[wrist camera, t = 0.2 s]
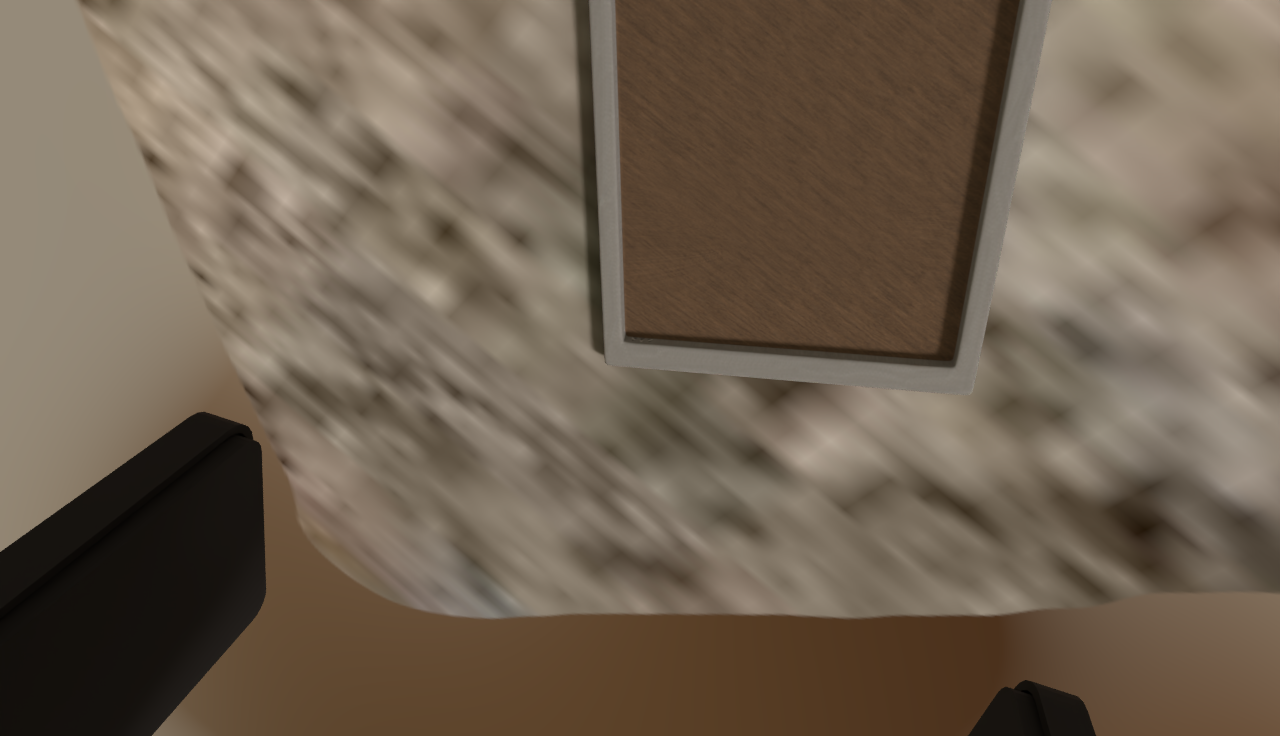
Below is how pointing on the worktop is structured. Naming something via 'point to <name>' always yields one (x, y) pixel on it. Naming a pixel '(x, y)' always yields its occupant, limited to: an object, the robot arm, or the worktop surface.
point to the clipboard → (807, 183)
